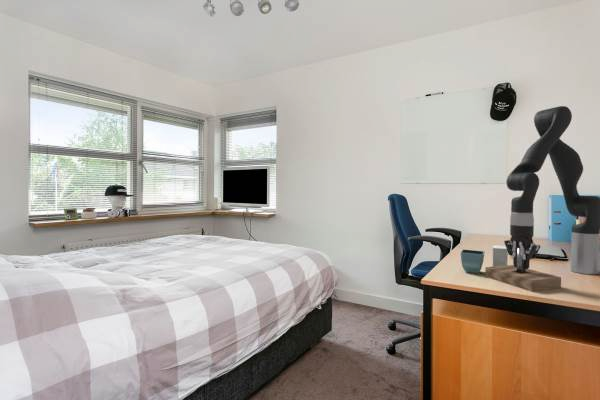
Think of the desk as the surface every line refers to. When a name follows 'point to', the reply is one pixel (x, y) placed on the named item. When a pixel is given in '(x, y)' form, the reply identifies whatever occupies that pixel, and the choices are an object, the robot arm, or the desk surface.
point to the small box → (500, 255)
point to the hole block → (523, 278)
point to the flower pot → (472, 260)
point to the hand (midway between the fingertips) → (521, 267)
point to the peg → (519, 262)
